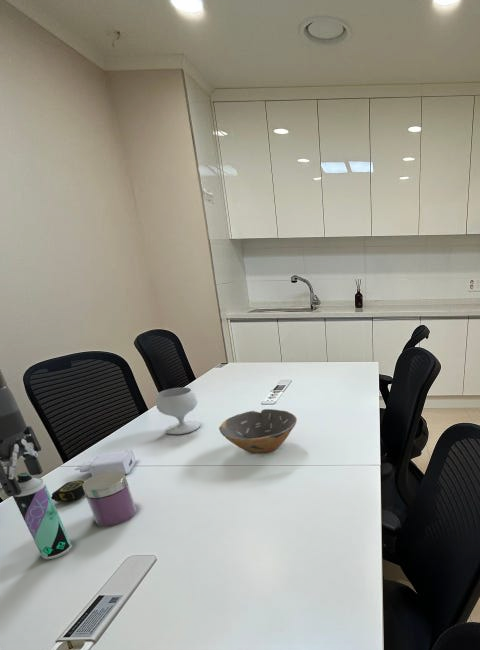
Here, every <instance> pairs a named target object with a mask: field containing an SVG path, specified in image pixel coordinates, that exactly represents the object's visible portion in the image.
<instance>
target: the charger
mask: <svg viewBox="0 0 480 650" xmlns="http://www.w3.org/2000/svg"><path fill="white" fill-rule="evenodd" d="M135 464H136V457H135V453H134V450H133V449H127V450H119V451H110V452H102V453H100V454H98V455H96V457H95V458H94V459H93V460H92V461H91V460H90V461H84V462H83V463H82V464H81V465H77V466H76V468H74V471H77V470H79V472H80V473H89V472H90V473H91V477H93V476H95V475H97V474H100V473H104V472H109V471H120V472H123V473H124V475H127V474H129V473H130V471H132V468H133V467H134V466H135Z"/></svg>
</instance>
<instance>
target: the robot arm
mask: <svg viewBox="0 0 480 650" xmlns="http://www.w3.org/2000/svg"><path fill="white" fill-rule="evenodd" d="M30 443H31V444H32V445H31V444H30ZM41 451H42V446H41V444H40V442H39V440H38V438H37V436H36V433H35V431H34V430H33V427H32V426H31V425H29V426H27V423H26V421H25V419H24V416H23V414H22V412H21V410H20V408H19V405H18V403H17V401H16V398H15V396H14V394H13V392H12V390H11V389H10V388H9V385H8V384H7V382H6V379H5V377H4V375H3V373H2V369H0V485H1V488H2V490H3V491H4V493H5V495H6V496H7V497H13V496H17V495H20V494H21V493H22V491H21V489H20V487H19V485H18V483H17V480H18V479H17V478H16V477H15V468H16V467H17V466H18V460H19V459H20V458H21V459H23V463H24V465H25V467H26V469H27V471H28V472H27V473H28V475H29V476H39V475H41V474H42V473H43V472H44V471H43V469H42V465H41V464H40V462H39V458H38V457H39V452H41ZM5 469H6V471H5Z"/></svg>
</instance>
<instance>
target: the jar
mask: <svg viewBox="0 0 480 650" xmlns="http://www.w3.org/2000/svg"><path fill="white" fill-rule="evenodd" d="M84 496H85V498H86V501H87V503H88V506H89V508H90V510H91V514H92V516H93V519H94V521H95V524H96V525H98V526H100V527H111V526H115V525H119V524H121V523H124V522H126V521H127V520H129V519H131V518H132V517H133V516H134V515H135V514H136V513H137V507H136V504H135V501H134V498H133V495H132V491H131V489H130V486H129V483H128V482H127V485H126V486H125V487H124V488H123V489H122V490H120V491H119V492H117V493H114V494H112V495H109V496H106V497H100V498H90V497H87V496H86V494H85V495H84Z"/></svg>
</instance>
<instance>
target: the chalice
mask: <svg viewBox="0 0 480 650" xmlns="http://www.w3.org/2000/svg"><path fill="white" fill-rule="evenodd" d="M155 404H156V405H155V407H156V409H157V410H158V412H159V413H161V414H162V415H166V416H169V417H173V418H176V419H177V420H178V422H177V423H175V424H172V425H169V426H168V427H167V428H166V430H165V432H166V433H167V434H169V435H182V434H183V435H184V434H187V433H192V432H194V431H196V430H198V429H199V428H200V426H201V424H200V423H199V422H197V421H185V417H186V416H187V414H189V413H190V412H192V411H193V410H194V409H195V408H196V407H197V405H198V398H197V396H196V394H195V392H194V390H192V389H191V388H189V387H172V388H168V389H164V390H161V391H159V392H158V393H157V394H156V397H155Z"/></svg>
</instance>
